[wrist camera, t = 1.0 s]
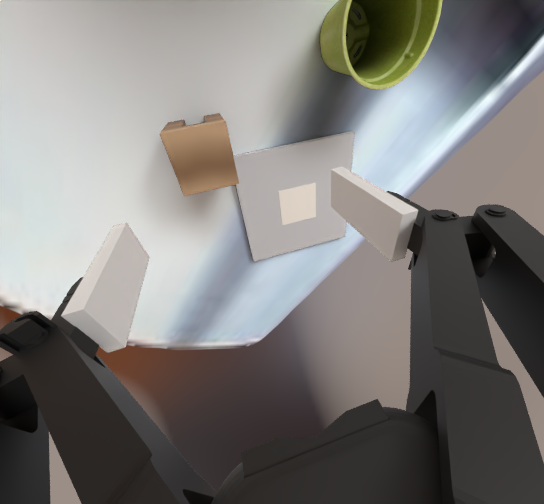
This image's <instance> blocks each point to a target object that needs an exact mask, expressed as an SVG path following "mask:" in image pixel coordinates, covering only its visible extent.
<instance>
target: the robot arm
mask: <svg viewBox="0 0 544 504" xmlns="http://www.w3.org/2000/svg"><path fill="white" fill-rule="evenodd" d="M331 207H332V208H333V209H334V210H335V211H336V212H337V213H338V214H339V215H340V216H342V217H343V218H344V219H345V220H346V221H347V222H348V223H349V224H350V225H351V226H352V227H354V228H355V229H356V230H357V231H358V232H359V233H360V234H361V235H362V236H363V237H364V238H366V239H367V240H368V241H369V242H370V243H371V244H372V245H373V246H374V247H375V248H376V249H378V250H379V251H380V252H381V253H382V254H383V255H384V256H385V257H386V258H387V259H388V260H390V261H391V262H393V261H396V260H399V259H402V258H405V255H406V252H407V248H408V249H410V250H411V251H412V252H413V255H412V258H411V261H410V265H409V268H408V269H409V270H411V337H410V339H411V340H410V345H411V346H410V388H409V394H408V399H407V405H406V411H405V410H401V409H397V408H390V407H382V406H381V404H380V403H379V401H378V399H376V400H374V401H371V402H369V403H366V404H363V405H361V406H358V407H356V408H353V409H351V410H348V411H346V412H345V413H343V414H342V415H341V416H340V417H339V418H338V419H336V420H335V421H334V422H333V423H332V424H331V425H329V426H328V427H327V428H326V429H325V430H324V431H322V432H321V433H320V434H319V435H317V436H315V437H301V438H279V439H274V440H272V441H269V442H267V443H264V444H261V445H259V446H256V447H254V448H251V449H249V450H246V451H243V452H241V455H242V463H241V464H239V465H238V466H237V467H236V468H235V469H234V470H233V471H232V472H231V473H230V475H229V476H228V477H227V478H226V480H225V481H224V483H223V484H222V485H221V487H220V489H219V490H218V492H216V491H215V490H214V489H213V488H212V487H211V485H209V483H208V482H207V481H206V480H204V479H203V478H202V477H201V476H200V475H198V474H197V473H196V472H195V471H194V469H193V468H192V467H191V466H190V465H189V464H188V462H187V461H186V460H185V459H184V458H183V456H182V455H181V454H180V453H179V452H178V450H177V449H176V448H175V447H174V446H173V444H172V443H171V442H170V441H169V440H168V439H167V437H166V436H165V435H164V434H163V432H161V430H160V429H159V428H158V426H157V425H156V424H155V423H154V422H153V420H152V419H151V418H150V417H149V416H148V414H147V413H146V412H145V411H144V410H143V408H142V407H141V406H140V405H139V404H138V402H137V401H136V400H135V399H134V398H133V396H132V395H131V394H130V393H129V392H128V390H127V389H126V388H125V387H124V386H123V385H122V383H121V382H120V381H119V380H118V378H117V377H116V376H115V375H114V374H113V372H112V371H111V370H110V369H109V368H108V367H107V365H106V364H105V363H104V362H103V360H102V359H101V358H99V357H98V356H97V355H96V352H97V350H98V347H99V346H100V347H101V348H102V349H103V350H105V351H106V352H107V353H109V352H112V351H115V350H118V349H121V348H124V347H126V343H127V339H128V336H129V332H130V328H131V325H132V321H133V317H134V313H135V310H136V306H137V302H138V298H139V295H140V291H141V287H142V284H143V280H144V276H145V272H146V269H147V265H148V261H149V256H148V254H147V253H146V251H145V250H144V248H143V247H142V245H141V244H140V242H139V241H138V239H137V238H136V236H135V235H134V233H133V231H132V230H131V228H130V227H129V225H128V224H127V223H123V224H119V225H115V226H113V227H112V229H111V231H110V232H109V234H108V236H107V238H106V239H105V241H104V243H103V244H102V246H101V248H100V250H99V251H98V253H97V255H96V256H95V258H94V260H93V262H92V263H91V265H90V267H89V269H88V270H87V272H86V274H85V275H84V277H82V278H80V279H79V280H78V281H77V282H76V283H75V284H74V285H73V286H72V287H71V289H70V290H69V292H68V293H67V296H66V297H65V298H64V300H63V303H62V304H61V305H60V306H59V308H58V310H57V311H56V313H55V315H54V316H53V318H52V320H51V321H50V320H49V319H48V318H46V317H45V316H44V315H42V314H41V313H39V312H37V311H34V312H29V313H26V314H23V315H21V316H19V317H17V318H15V319H14V320H12V321H11V322H9V323H8V324H7V325H5V326H4V327H3V328H2V329H1V330H0V347H1V348H3V349H5V350H6V351H8V352H10V353H12V354H14V355H12V356H10V357H8V358H6V359H4V360H3V361H1V362H0V504H50V472H49V432H50V434H51V436H52V439H53V441H54V443H55V445H56V448H57V450H58V452H59V454H60V457H61V459H62V461H63V463H64V465H65V468H66V470H67V472H68V474H69V477H70V479H71V481H72V483H73V486H74V488H75V490H76V492H77V494H78V497H79V499H80V501H81V503H82V504H544V463H543V460H542V457H541V453H540V450H539V447H538V444H537V440H536V437H535V434H534V431H533V427H532V424H531V421H530V418H529V414H528V411H527V408H526V404H525V401H524V398H523V394H522V391H521V388H520V385H519V383H518V381H517V379H516V377H515V375H514V374H513V373H512V372H511V371H510V370H506V369H503V368H501V366H500V365H499V363H498V361H497V358H496V354H495V350H494V346H493V342H492V338H491V334H490V330H489V326H488V323H487V319H486V315H485V311H484V307H483V304H482V300H481V298H482V299H483V301H484V303H485V305H486V306H487V308H488V309H489V311H490V313H491V314H492V316H493V317H494V319H495V321H496V322H497V324H498V325H499V327H500V329H501V330H502V332H503V333H504V335H505V337H506V338H507V340H508V341H509V343H510V345H511V346H512V348H513V349H514V351H515V352H516V354H517V356H518V357H519V359H520V361H521V362H522V364H523V365H524V367H525V369H526V370H527V372H528V373H529V375H530V377H531V378H532V380H533V381H534V383H535V385H536V386H537V388H538V389H539V391H540V392H541V394H542V396H543V397H544V236H543V235H542V234H541V233H539V232H538V231H537V230H536V229H535V228H534V227H532V226H531V225H530V224H529V223H528V222H526V221H525V220H524V219H523V218H522V217H520V216H519V215H518V214H517V213H516V212H515V211H513V210H511V209H509V208H506V207H504V206H501V205H499V206H498V205H482V206H479V207H478V208H477V209H476V211H475V213H474V216H467V217H459V216H458V215H457V214H455V213H454V212H450V211H448V210H431V211H428V210H426V209H424V208H422V207H421V206H419V205H417V204H415V203H413V202H410V200H408V199H406V198H404V197H403V196H401V195H399V194H397V193H393V192H389V191H384V190H382V189H381V188H379V187H377V186H375V185H374V184H372V183H370V182H368V181H367V180H365V179H363V178H361V177H359V176H358V175H356V174H354V173H352V172H351V171H349V170H347V169H345V168H344V167H338V168H334V169H331ZM495 251H496V255H495V254H494V253H495Z"/></svg>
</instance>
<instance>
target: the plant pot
mask: <svg viewBox="0 0 544 504" xmlns="http://www.w3.org/2000/svg"><path fill="white" fill-rule="evenodd" d="M441 7H442V0H339V1H338V2H337V3H336V4H335V5H334V6H333V7H332V8H331V10H330V11H329V12H328V14H327V16H326V17H325V20H324V22H323V25H322V28H321V33H320V45H321V55H322V58H323V60H324V62H325V64H326V65H327V66H328V67H329V68H330V69H332V70H334V71H336V72H339V73H343V74H347V75H350V76H352V77H353V79H354V80H355V81H356V82H357V83H359V84H360V85H362V86H364V87H366V88H369V89H373V90H381V89H386V88H390V87H392V86H394V85H396V84H398V83H399V82H401V81H402V80H403V79H405V78H406V77H407V76H408V75H409V74H410V73H411V72H412V71H413V70H414V69H415V68H416V66H417V65H418V64H419V62H420V61H421V59H422V58H423V56H424V55H425V53H426V51H427V49H428V47H429V45H430V43H431V41H432V38H433V36H434V33H435V30H436V28H437V25H438V21H439V16H440V13H441ZM353 9H356V10H357V11H358V12H359V13H360V15H361V19H360V20H359V19H358V17H357V15H356V14H355V13H354V12H353ZM346 35H347V36H348V38H347V40H346ZM360 45H361V50H360V52H359V54H358V55H357V57H355V58H354V55H355V53H356V52H357V51H358V49H359V47H360Z"/></svg>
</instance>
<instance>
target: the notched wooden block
mask: <svg viewBox="0 0 544 504" xmlns="http://www.w3.org/2000/svg"><path fill="white" fill-rule="evenodd" d="M204 118H205V123H200V124H194V125H189V126H186V125H185V122H184V120H180V121H174V122H168V124H167V125H166V126H165V127H164V129H163V130H162V131H161V133H160V136H161V138H162V141H163V143H164V146H165V149H166V151H167V154H168V156H169V159H170V161H171V164H172V166H173V169H174V171H175V174H176V177H177V179H178V182H179V184H180V187H181V189H182V192H183V194H184V196H187V195H191V194H196V193H200V192H205V191H209V190H213V189H218V188H222V187H227V186H231V185H236V184H239V180H238V175H237V171H236V166H235V162H234V157H233V153H232V148H231V144H230V139H229V135H228V130H227V126H226V121H225V120H224V119H223V118H222V117H221V115H220V114H219V113H218V114H213V115H207V116H204Z"/></svg>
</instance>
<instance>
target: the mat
mask: <svg viewBox="0 0 544 504" xmlns="http://www.w3.org/2000/svg"><path fill="white" fill-rule="evenodd" d="M354 134H355V132H352V131H350V132H345V133H340V134H335V135H330V136H326V137H321V138H316V139H311V140H306V141H301V142H296V143H292V144H287V145H282V146H277V147H272V148H267V149H263V150H258V151H253V152H248V153H243V154H238V155H234V156H233V157H234V162H235V166H236V171H237V175H238V180H239V184H236V189H237V193H238V197H239V202H240V206H241V210H242V214H243V219H244V223H245V227H246V231H247V236H248V240H249V244H250V249H251V253H252V257H253V260H254V261H258V260H262V259H265V258H269V257H273V256H276V255H280V254H284V253H287V252H291V251H295V250H298V249H302V248H306V247H309V246H313V245H316V244H320V243H324V242H327V241H331V240H335V239H338V238H342V237H345V233H346V222H347V221H346V220H345V219H344V218H343V217H342V216H340V215H339V214H338V213H337V212H336V211H335V210H334V209H333V208H332V207H331V169H334V168H338V167H344V168H345V169H347V170H349V171H351V167H352V156H353V145H354Z"/></svg>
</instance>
